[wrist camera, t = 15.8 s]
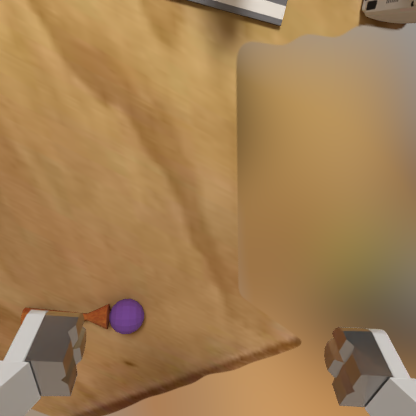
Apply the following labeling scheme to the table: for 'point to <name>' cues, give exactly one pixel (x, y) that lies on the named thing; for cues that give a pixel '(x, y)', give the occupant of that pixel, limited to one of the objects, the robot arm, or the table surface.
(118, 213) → the table surface
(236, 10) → the mat
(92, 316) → the kendama
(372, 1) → the stereo radio cassette player
